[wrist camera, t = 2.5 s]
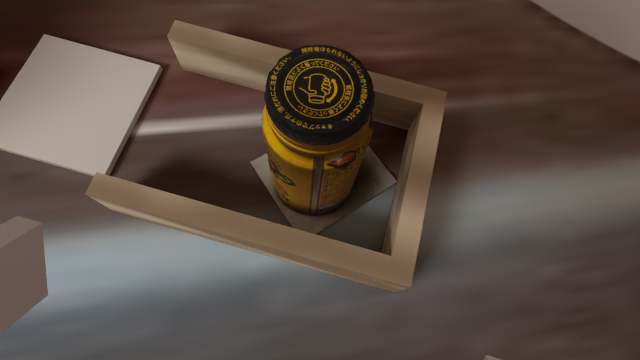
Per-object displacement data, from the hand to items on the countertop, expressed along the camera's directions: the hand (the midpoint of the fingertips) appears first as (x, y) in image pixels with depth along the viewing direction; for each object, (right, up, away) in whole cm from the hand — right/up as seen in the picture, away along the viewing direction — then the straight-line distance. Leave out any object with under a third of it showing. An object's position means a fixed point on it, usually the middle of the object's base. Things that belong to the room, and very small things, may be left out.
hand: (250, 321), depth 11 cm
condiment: (+2, +5, +18) cm, 19 cm away
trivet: (-17, +10, +19) cm, 27 cm away
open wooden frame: (-2, +6, +18) cm, 19 cm away
